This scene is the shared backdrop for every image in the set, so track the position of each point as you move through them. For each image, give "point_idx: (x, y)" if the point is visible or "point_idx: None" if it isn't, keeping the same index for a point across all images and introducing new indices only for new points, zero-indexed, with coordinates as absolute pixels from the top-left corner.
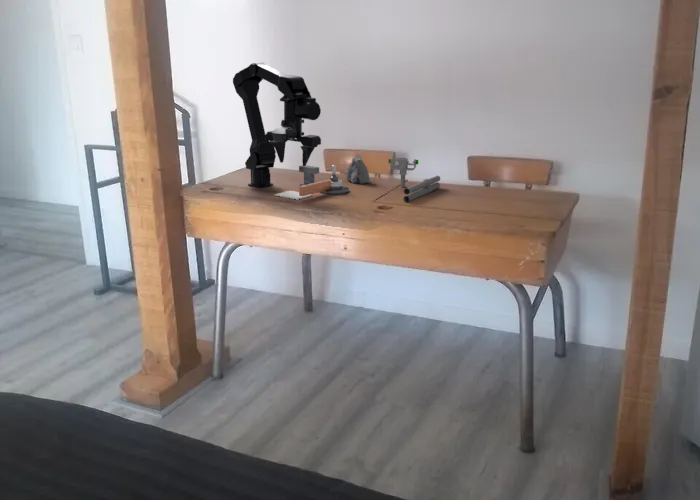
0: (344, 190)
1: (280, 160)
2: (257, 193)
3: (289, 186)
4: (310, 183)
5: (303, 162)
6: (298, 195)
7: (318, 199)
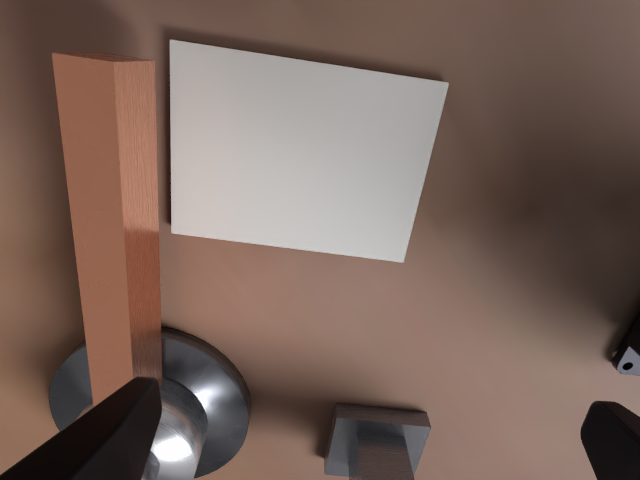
0: (56, 404)
1: (632, 423)
2: (631, 83)
3: (488, 385)
4: (355, 444)
5: (98, 414)
6: (242, 154)
7: (61, 163)
